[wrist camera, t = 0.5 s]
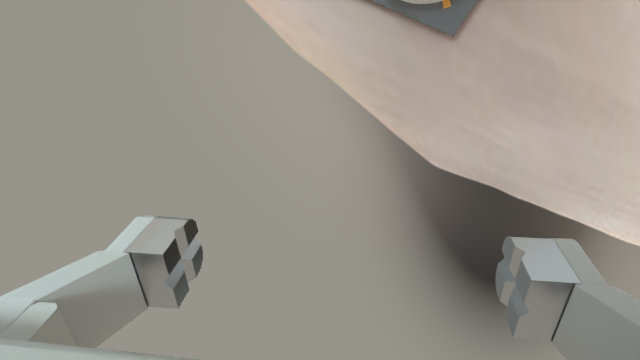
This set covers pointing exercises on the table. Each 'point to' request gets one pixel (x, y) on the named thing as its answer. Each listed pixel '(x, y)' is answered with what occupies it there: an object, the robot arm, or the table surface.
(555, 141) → the table surface
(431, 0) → the dial
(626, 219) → the table surface
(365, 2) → the table surface
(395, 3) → the dial housing
